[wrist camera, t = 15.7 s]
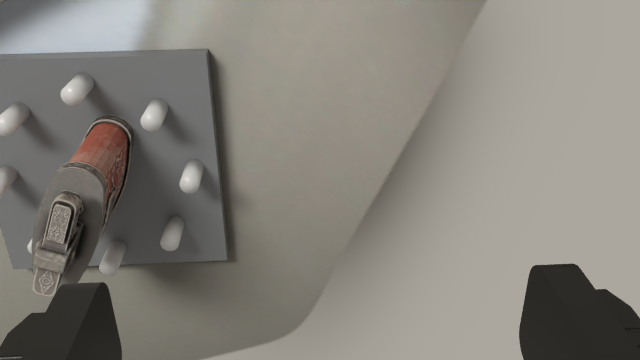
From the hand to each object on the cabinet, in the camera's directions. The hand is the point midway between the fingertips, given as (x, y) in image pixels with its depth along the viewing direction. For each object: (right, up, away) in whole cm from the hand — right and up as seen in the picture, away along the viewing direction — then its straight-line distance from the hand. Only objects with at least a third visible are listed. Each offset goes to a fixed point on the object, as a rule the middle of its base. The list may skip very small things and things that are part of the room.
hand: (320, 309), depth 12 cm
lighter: (-14, +3, +28) cm, 32 cm away
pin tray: (-14, +4, +29) cm, 33 cm away
